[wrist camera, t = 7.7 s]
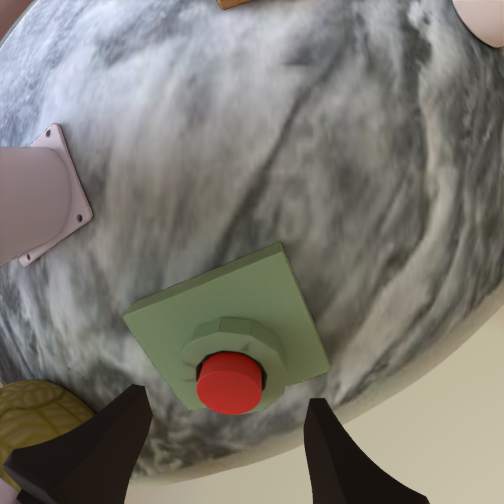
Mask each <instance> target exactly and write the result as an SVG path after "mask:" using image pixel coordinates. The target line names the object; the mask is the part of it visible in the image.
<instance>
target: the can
mask: <svg viewBox="0 0 504 504" xmlns="http://www.w3.org/2000/svg"><path fill="white" fill-rule="evenodd" d="M452 3H453V6H454V8H455V11H456V12H457V14H458V16H459V17H460V19H461V20H462V22H463V23H464V24H465V26H466V27H467V28H468V29H469V30H470V31H471V33H473V34H474V35H475V36H476V37H477V38H478V39H480V40H481V41H483V42H484V43H486V44H488V45H490V46H492V47H501V46H504V0H452Z"/></svg>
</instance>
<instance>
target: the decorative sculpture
mask: <svg viewBox="0 0 504 504" xmlns="http://www.w3.org/2000/svg"><path fill="white" fill-rule="evenodd" d="M94 415H96V414H95V413H94V412H93V411H92V410H91V409H90V408H89V407H88V406H87V405H86V404H85V403H83V402H82V401H81V400H80V399H79V398H77V397H76V396H75V395H74V394H72V393H70V392H69V391H67V390H65V389H64V388H62V387H61V386H59V385H57V384H54V383H52V382H48V381H45V380H23V381H17V382H14V383H11V384H8V385H6V386H4V387H2V388H0V478H2V479H3V480H4V481H6V482H7V483H8V484H10V485H11V486H12V487H14V488H15V489H16V490H18V491H19V492H20V491H21V489H22V488H21V487H20V486H19V485H18V484H17V483H16V482H14V481H13V480H12V479H11V477H10V476H9V475H8V474H7V473H6V472H5V471H4V470H3V467H2V465H3V464H4V462H5V461H6V459H7V458H8V456H9V455H10V453H11V452H12V451H13V449H18V448H23V447H28V446H32V445H36V444H39V443H43V442H46V441H48V440H51V439H54V438H56V437H58V436H60V435H63V434H65V433H67V432H69V431H71V430H73V429H74V428H76V427H78V426H80V425H81V424H83V423H84V422H86V421H87V420H89V419H90V418H91V417H93V416H94Z"/></svg>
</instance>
